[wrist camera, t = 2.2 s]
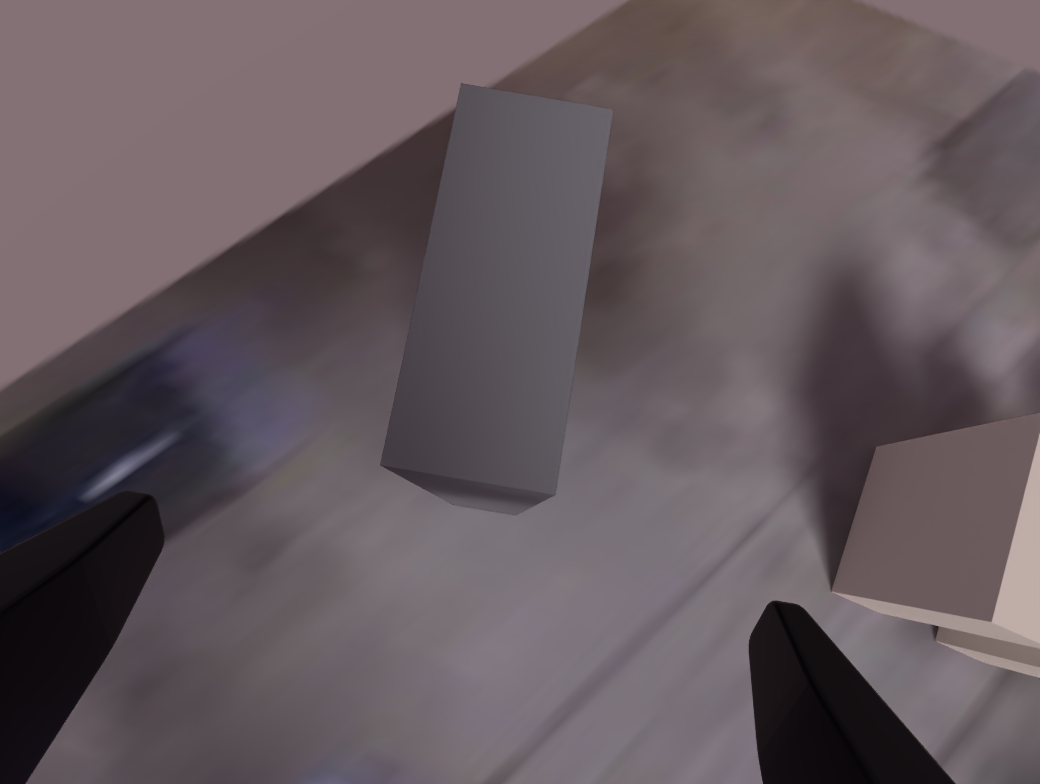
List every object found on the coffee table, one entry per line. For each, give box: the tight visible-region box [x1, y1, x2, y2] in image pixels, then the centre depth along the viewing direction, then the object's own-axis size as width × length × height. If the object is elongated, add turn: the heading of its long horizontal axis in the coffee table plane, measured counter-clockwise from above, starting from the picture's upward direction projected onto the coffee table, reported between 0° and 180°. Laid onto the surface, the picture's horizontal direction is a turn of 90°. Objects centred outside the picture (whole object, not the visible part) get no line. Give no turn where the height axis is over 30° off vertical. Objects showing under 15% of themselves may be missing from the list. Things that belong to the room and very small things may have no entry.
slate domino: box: [380, 84, 613, 515], centre depth 14 cm, size 2×5×13 cm, turn 171°
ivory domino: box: [831, 413, 1040, 649], centre depth 17 cm, size 2×5×6 cm, turn 156°
